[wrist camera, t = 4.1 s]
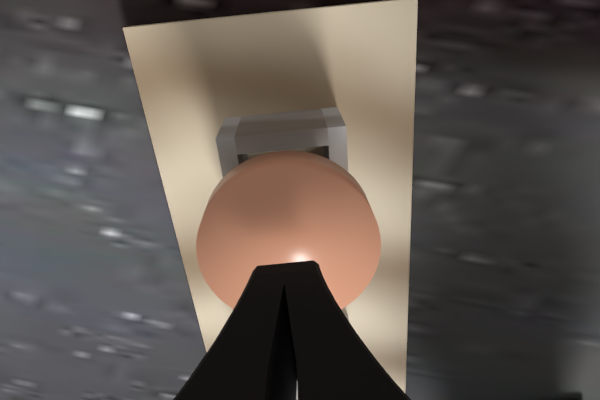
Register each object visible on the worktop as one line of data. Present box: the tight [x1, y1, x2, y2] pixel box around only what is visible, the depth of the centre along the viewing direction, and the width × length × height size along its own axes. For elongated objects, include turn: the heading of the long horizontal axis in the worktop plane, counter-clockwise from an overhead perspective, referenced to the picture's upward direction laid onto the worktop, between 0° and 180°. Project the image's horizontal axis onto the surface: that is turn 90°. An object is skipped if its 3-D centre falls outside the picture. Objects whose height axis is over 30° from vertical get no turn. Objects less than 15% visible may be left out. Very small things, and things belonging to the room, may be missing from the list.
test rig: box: [123, 0, 418, 393], centre depth 18 cm, size 21×10×4 cm, turn 5°
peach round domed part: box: [196, 151, 381, 309], centre depth 13 cm, size 5×5×4 cm
